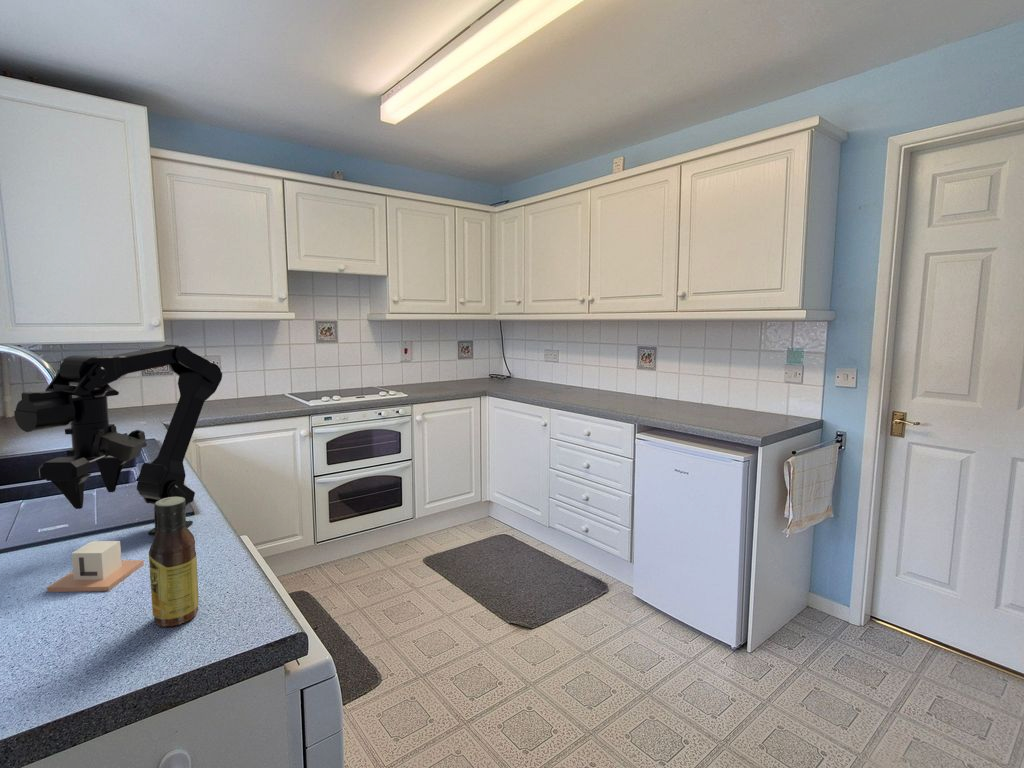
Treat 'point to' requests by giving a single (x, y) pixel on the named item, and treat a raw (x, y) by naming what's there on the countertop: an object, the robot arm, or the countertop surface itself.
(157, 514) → the sauce bottle
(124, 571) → the terracotta tile
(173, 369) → the robot arm
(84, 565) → the cream letter cube
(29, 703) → the countertop surface
